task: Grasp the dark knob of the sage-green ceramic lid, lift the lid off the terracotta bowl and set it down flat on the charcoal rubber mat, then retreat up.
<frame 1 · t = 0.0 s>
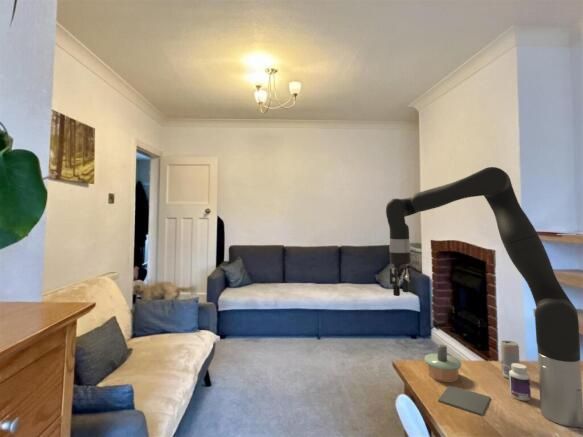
hand: (401, 293, 119), 29 cm above the table, fingers open, 8 cm apart
bowl: (442, 375, 115), on the table
mat: (464, 399, 99), on the table
energy drink: (511, 377, 113), on the table
lid: (442, 362, 115), point 5 cm above the table, touching bowl
pill bottle: (520, 397, 100), on the table
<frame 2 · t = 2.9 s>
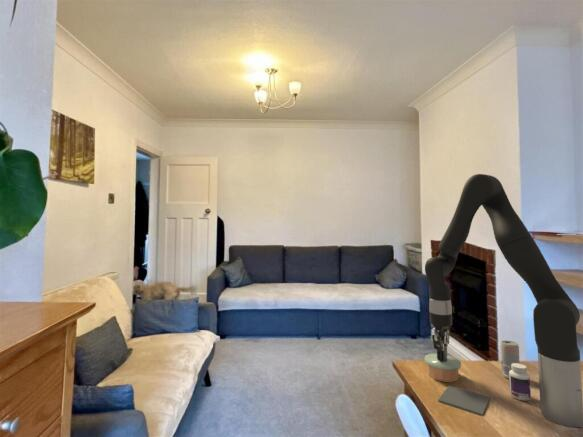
hand: (442, 358, 115), 6 cm above the table, fingers closed on lid, 3 cm apart
lid: (442, 362, 115), point 5 cm above the table, touching bowl, gripper
everything else where it was.
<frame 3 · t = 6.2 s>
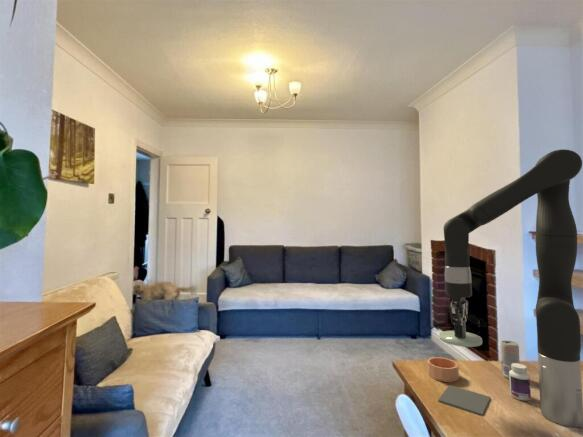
hand: (460, 334, 100), 20 cm above the table, fingers closed on lid, 3 cm apart
lid: (460, 339, 100), point 18 cm above the table, touching gripper
everything else where it was.
when the fingers open (4 cm above the table, at t = 9.5 s): lid drops 2 cm, resting on mat.
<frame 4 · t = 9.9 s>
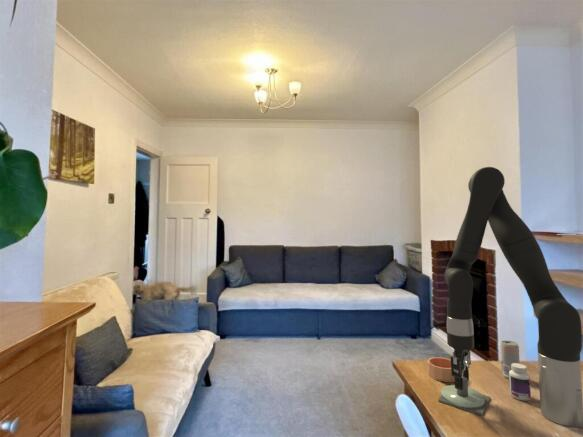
hand: (462, 384, 99), 5 cm above the table, fingers open, 6 cm apart
lid: (462, 397, 99), resting on mat
everything else where it was.
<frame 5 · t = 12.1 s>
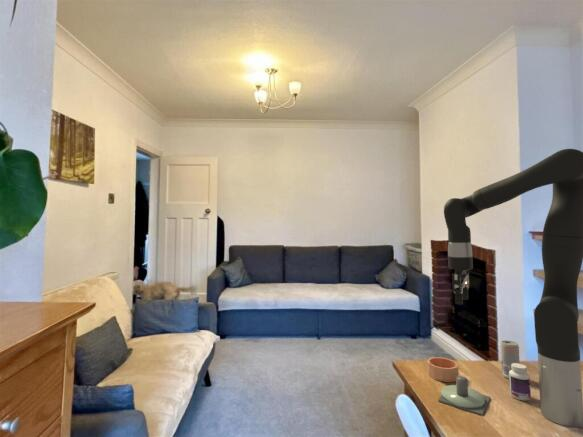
hand: (461, 301, 109), 28 cm above the table, fingers open, 8 cm apart
nothing on the table moved.
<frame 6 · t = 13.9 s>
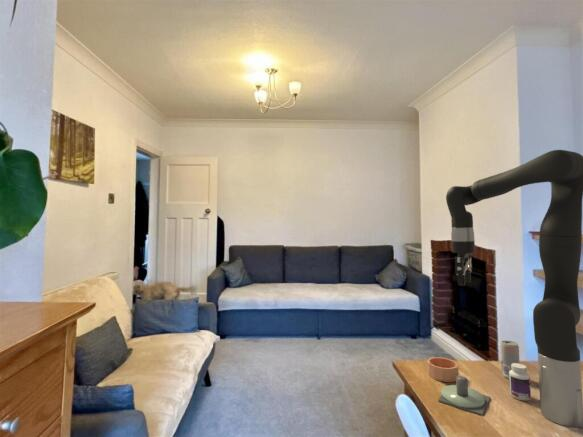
hand: (464, 284, 116), 33 cm above the table, fingers open, 8 cm apart
nothing on the table moved.
at the end: lid inside the target area on the mat (0.5 cm from its centre), point 0.5 cm above the mat's base; lid tilted 0°; the gripper is holding nothing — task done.
